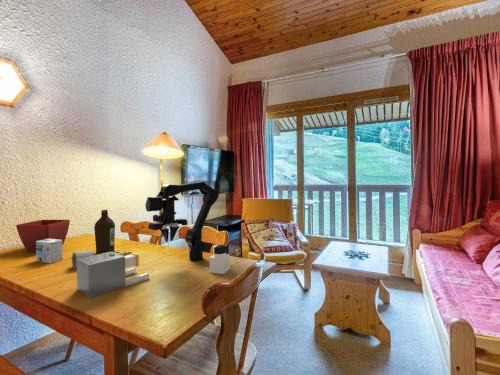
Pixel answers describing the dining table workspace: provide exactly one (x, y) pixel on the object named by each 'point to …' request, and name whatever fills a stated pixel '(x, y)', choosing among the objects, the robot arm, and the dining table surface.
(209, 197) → the robot arm
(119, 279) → the box
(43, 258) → the light bulb box
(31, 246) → the plant pot
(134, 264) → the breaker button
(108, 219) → the olive oil
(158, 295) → the dining table surface
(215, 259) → the medicine bottle
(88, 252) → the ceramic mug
